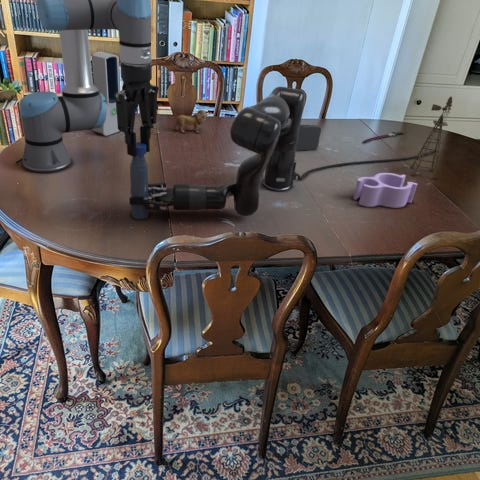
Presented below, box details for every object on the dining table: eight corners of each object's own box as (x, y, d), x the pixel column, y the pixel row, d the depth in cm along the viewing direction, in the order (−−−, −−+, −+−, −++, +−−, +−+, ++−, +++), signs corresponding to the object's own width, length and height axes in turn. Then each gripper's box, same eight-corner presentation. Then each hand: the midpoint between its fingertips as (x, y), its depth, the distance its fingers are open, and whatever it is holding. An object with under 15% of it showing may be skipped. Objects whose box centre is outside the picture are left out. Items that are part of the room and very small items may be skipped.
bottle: (141, 221, 134) (139, 152, 123) (128, 215, 136) (125, 147, 125) (152, 214, 138) (151, 147, 126) (139, 209, 140) (137, 142, 128)
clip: (365, 210, 152) (371, 191, 148) (346, 193, 162) (351, 174, 158) (416, 205, 158) (422, 187, 155) (395, 189, 168) (400, 171, 164)
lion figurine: (203, 128, 203) (204, 107, 198) (207, 132, 199) (208, 111, 194) (170, 129, 198) (170, 108, 193) (173, 133, 194) (173, 112, 189)
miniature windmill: (435, 179, 179) (462, 101, 163) (413, 175, 180) (438, 97, 164) (432, 170, 187) (457, 94, 170) (410, 166, 188) (434, 91, 171)
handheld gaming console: (315, 147, 196) (319, 124, 190) (317, 149, 194) (322, 126, 188) (264, 149, 189) (267, 125, 183) (266, 152, 187) (269, 127, 181)
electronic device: (104, 136, 184) (98, 57, 168) (90, 131, 187) (84, 53, 171) (126, 129, 193) (123, 53, 177) (113, 124, 196) (109, 49, 180)
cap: (127, 151, 126) (127, 144, 125) (139, 148, 129) (139, 141, 128) (137, 156, 124) (137, 149, 123) (149, 153, 127) (149, 145, 126)
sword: (401, 131, 224) (402, 128, 223) (406, 133, 222) (407, 131, 221) (358, 142, 208) (358, 140, 207) (363, 145, 206) (363, 142, 205)
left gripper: (119, 71, 106) (124, 166, 119) (171, 61, 118) (170, 148, 131) (97, 64, 109) (104, 157, 122) (150, 55, 122) (151, 141, 134)
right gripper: (189, 174, 140) (130, 173, 137) (191, 197, 128) (128, 196, 125) (188, 197, 144) (131, 196, 141) (190, 220, 132) (129, 220, 129)
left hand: (138, 152), depth 126 cm, fingers closed on cap, 4 cm apart
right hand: (130, 196), depth 133 cm, fingers closed on bottle, 5 cm apart
